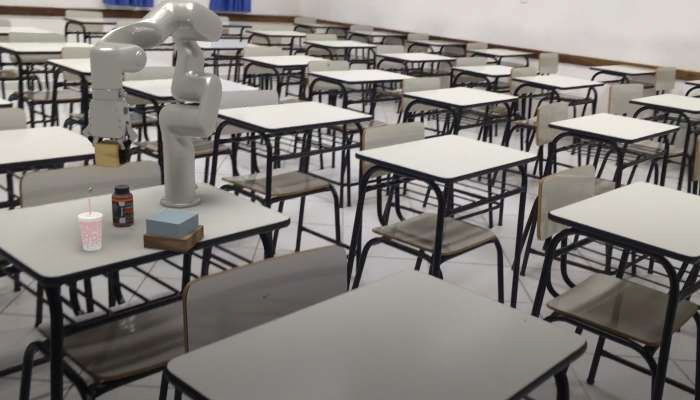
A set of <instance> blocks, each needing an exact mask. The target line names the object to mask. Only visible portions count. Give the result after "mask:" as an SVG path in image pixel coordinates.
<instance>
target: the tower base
mask: <svg viewBox="0 0 700 400" xmlns="http://www.w3.org/2000/svg"><path fill="white" fill-rule="evenodd" d="M204 229H205V227H204V225H202V224H199V227H198V228H197V229H195V230H193V231H192V232H190V233H188V234H187V235H185V236H183V237H181V238H180V239H178V238H172V237H166V236H160V235H154V234H148V233H146V232H145V233H144V234H143V237H142V239H143V240H142V241H143V248H144V249H152V250H162V251H168V252H169V251H170V252H178V253H185V254H186V253H188V252H189V251H190V250H192V248H193V247H195V245H197V244H198V243H199V242H200V241H202V240H203V239H204V238H205V236H204V235H205V230H204Z"/></svg>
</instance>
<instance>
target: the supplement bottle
mask: <svg viewBox="0 0 700 400" xmlns="http://www.w3.org/2000/svg"><path fill="white" fill-rule="evenodd" d="M111 215H112V216H111V217H112V224H113V225H114V226H117V227H127V226H131V225H133V224H134V223H135V211H134V195H133V193H132V192H131V191H130V185H129V184H118V185H115V186H114V192H113V193H112V194H111Z"/></svg>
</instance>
